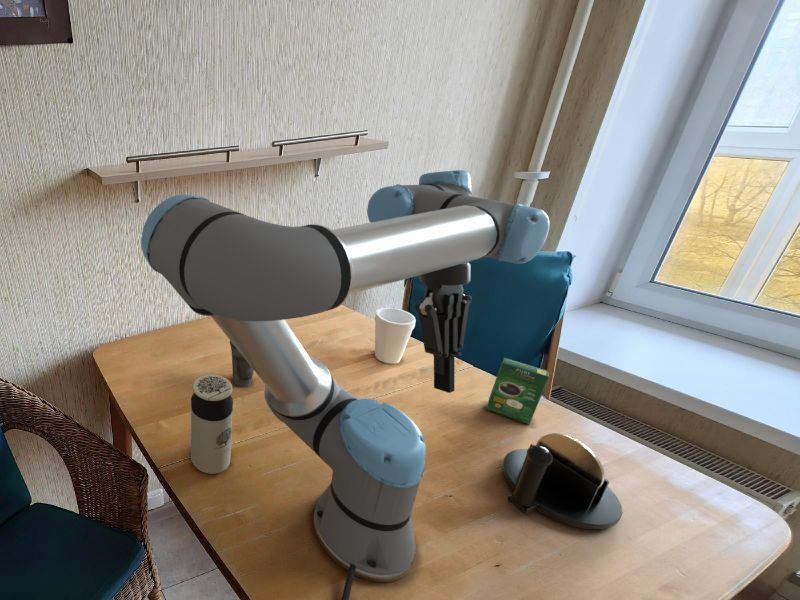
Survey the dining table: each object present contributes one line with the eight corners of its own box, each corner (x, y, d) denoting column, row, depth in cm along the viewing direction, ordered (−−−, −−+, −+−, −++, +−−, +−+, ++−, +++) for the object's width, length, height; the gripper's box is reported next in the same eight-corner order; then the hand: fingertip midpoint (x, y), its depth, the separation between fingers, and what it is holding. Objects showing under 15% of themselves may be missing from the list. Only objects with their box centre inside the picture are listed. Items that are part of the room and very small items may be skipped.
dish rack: (569, 551, 66) (597, 491, 62) (468, 472, 81) (485, 418, 76) (642, 510, 73) (673, 452, 68) (536, 443, 87) (556, 392, 82)
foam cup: (408, 353, 119) (417, 312, 115) (405, 371, 112) (414, 327, 107) (371, 344, 124) (378, 304, 119) (366, 360, 117) (373, 318, 112)
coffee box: (531, 419, 95) (549, 369, 90) (531, 426, 93) (549, 376, 88) (487, 403, 100) (502, 356, 95) (485, 410, 98) (501, 361, 93)
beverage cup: (256, 391, 106) (261, 321, 99) (227, 388, 107) (230, 318, 100) (256, 374, 112) (261, 306, 105) (228, 371, 114) (231, 304, 107)
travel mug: (184, 451, 89) (184, 379, 82) (217, 439, 91) (219, 369, 85) (202, 480, 82) (203, 405, 75) (237, 466, 85) (242, 392, 78)
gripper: (444, 266, 69) (443, 406, 71) (488, 258, 74) (487, 387, 77) (399, 263, 75) (401, 391, 78) (444, 255, 81) (444, 375, 83)
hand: (444, 389), depth 77 cm, fingers closed
